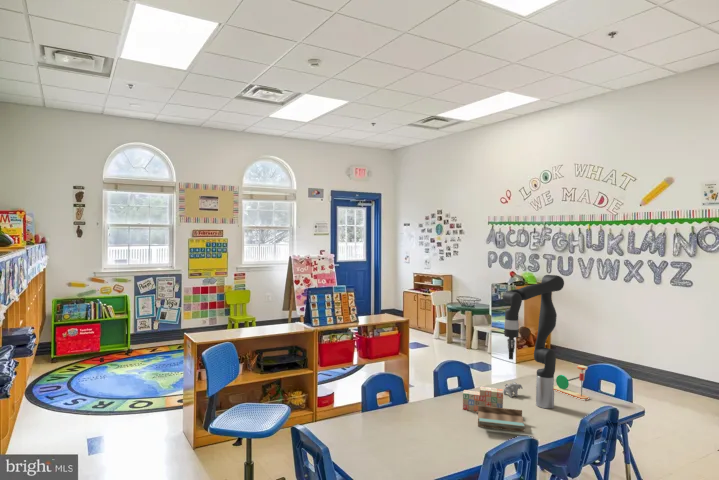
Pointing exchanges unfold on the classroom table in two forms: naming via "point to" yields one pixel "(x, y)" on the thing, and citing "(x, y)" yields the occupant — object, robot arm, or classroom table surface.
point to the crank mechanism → (564, 384)
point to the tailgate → (501, 423)
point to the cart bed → (500, 416)
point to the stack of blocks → (482, 398)
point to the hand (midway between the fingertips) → (510, 359)
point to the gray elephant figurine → (512, 389)
